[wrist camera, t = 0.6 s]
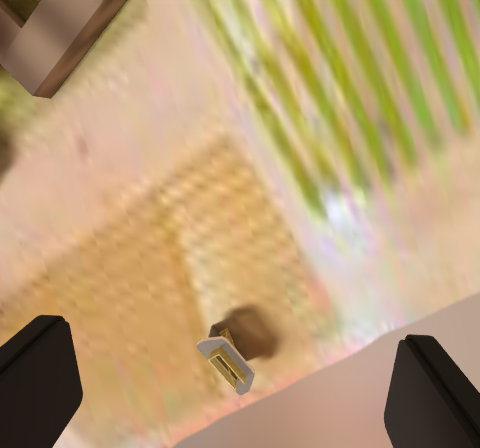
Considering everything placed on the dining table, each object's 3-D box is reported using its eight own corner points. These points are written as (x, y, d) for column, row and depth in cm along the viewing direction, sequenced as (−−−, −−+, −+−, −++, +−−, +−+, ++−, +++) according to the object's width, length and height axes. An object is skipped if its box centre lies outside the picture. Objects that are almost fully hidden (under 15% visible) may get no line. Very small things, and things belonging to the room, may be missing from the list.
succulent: (228, 274, 41) (222, 300, 35) (300, 363, 45) (306, 401, 39) (164, 315, 44) (148, 346, 38) (237, 396, 48) (233, 436, 42)
